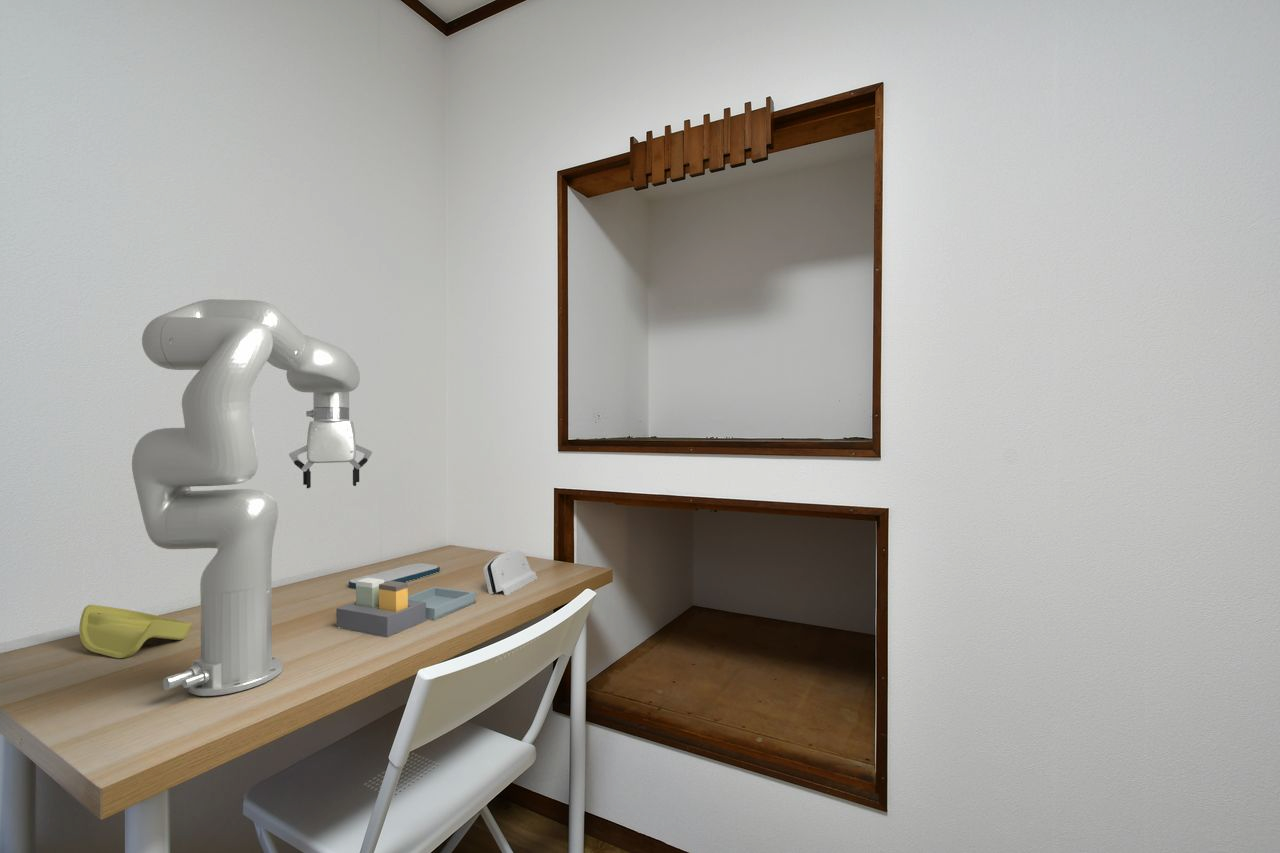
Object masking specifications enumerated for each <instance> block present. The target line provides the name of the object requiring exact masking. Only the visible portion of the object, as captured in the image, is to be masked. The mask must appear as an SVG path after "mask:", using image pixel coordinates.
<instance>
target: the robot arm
mask: <svg viewBox="0 0 1280 853" xmlns="http://www.w3.org/2000/svg"><path fill="white" fill-rule="evenodd" d="M141 345H142V346H141V347H142V349H143V351H144V354H145V355H146V357H147V359H149V360H150V361H151V363H153V364H155V365H157V366H159V367H161V368H163V369H167V370H174V371H197V372H196V374H195V375H194V376H193V377H192V378H191V380H190V381H189V382H188V384H187V385H186V387H185V389H184V390H183V393H182V398H181V408H182V414H183V416H182V417H183V422H184V427H165V428H159V429H154V430H152V431H149V432H148V433H146V434H144V435H142V437H141V438H140V439H139V440H138V441H137V443H136V445H135V447H134V450H133V454H132V456H131V457H132V459H131V470H132V476H133V483H134V486H135V490H136V494H137V499H138V503H139V507H140V512H141V515H142V521H143V524H144V528H145V531H146V534H147V535H148V538H149V539H150V541H151V542H152V543H153V544H154V545H155V546H157V547H159V548H161V549H164V550H190V549H191V550H193V549H194V550H195V549H196V550H197V549H217V551H216V553H215V555H214V556H213V558H212V559H211V560H210V561H209V562H208V564H207V565H206V566H205V568H204V570H203V571H202V573H201V577H200V584H199V585H200V587H199V588H200V590H199V591H200V595H199V597H200V657H199V658H197V659H193V660H192V663H193V664H192V666H190V667H188V668H187V669H186V671H183V672H180V673H179V672H178V673H176V674H172V675H169V676H166V677H164V678H163V679H162V680H163V681H162V686H163V689H164V690H165V691H169V690H172V689H174V688H177V687H180V686H182V687H183V688H184V689H188V692H189V693H190V694H192V695H195V696H198V697H199V696H201V697H212V696H213V697H214V696H223V695H229V694H233V693H238V692H242V691H245V690H246V691H247V690H248V689H252V688H255V687H257V686H260V685H263V684H265V683H267V682H269V681H271V680H272V679H274V678H276V677H277V676H278V675H279V674H281V673H282V671H283V669H284V664H283V663H284V662H283V660H282V659H281V658H278V657H274V656H273V647H272V646H273V642H272V641H273V640H272V639H273V638H272V637H273V630H272V629H273V628H272V622H273V621H272V618H273V617H272V616H273V615H272V613H273V612H272V605H273V604H272V562H273V561H272V556H273V545H274V540H275V539H274V538H275V534H276V528H277V524H278V518H279V508H278V503H277V501H276V500H275V498H274V497H273V496H271V495H270V494H268V493H267V492H264V491H262V490H257V489H249V488H248V489H247V488H246V489H245V488H237V489H236V488H235V489H213V490H210V489H209V490H191V487H215V486H216V487H217V486H219V487H220V486H230V485H231V486H232V485H239V484H242V483H245V482H247V481H249V480H252V479H253V477H254V476H255V475H256V474H257V470H258V466H259V461H258V460H259V457H258V449H257V443H256V435H255V429H254V425H253V424H254V423H253V417H252V411H251V410H252V409H251V401H250V400H251V399H250V398H251V392H252V390H253V387H254V384H255V382H256V379H257V377H258V376H259V374H260V372H261V370H262V369H263V367H264V366H265V365H266V363H268V364H269V365H271V366H272V367H274V368H277V369H280V370H284V371H286V373H285V375H286V379H287V383H288V384H289V385H290V387H291V388H292V389H293V390H295V391H297V392H301V393H310V394H311V393H312V394H313V395H312V396H313V398H312V399H313V403H312V404H313V405H312V406H313V409H311V410H306V414H305V416H306V417H310V418H312V419H313V420H311V421H309V424H308V429H307V436H306V437H307V439H306V440H307V441H306V445H304V446H302V447H300V448H298V449H295V450H293V451H290V452H289V453H288V456H289V458H290V459H291V461H292V462H293V463H294V465H295V466H296V467H297V468H299V469H300V470H301V471H302V484H303V486H306V489H311V487H312V486H311V484H312V483H311V482H312V481H311V480H312V479H311V478H312V476H311V475H312V474H311V473H312V472H311V471H310V468H311V467H312V466H313V465H314V464H327V463H328V464H332V463H349V464H351V465H352V466H353V469H352V486H353V487H356V486H357V483H360V469H361V468H363V466H365V465H366V464H367V463H368V461H369V459H370V458H371V455H372V454H373V452H372V450H369V449H367V448H365V447H363V446H361V445H358V444H356V435H355V434H356V432H355V427H354V422H353V421H352V420H351V421H350V392H353V391H355V390H356V389H357V388H358V386H359V384H360V380H361V375H360V374H361V373H360V370H359V366H358V365H357V364H356V362H355V361H354V359H353V358H352V357H351V356H350V355H349V354H348V352H346V351H345V350H344V349H342V348H341V347H339V346H336V345H334V344H331V343H330V342H329V343H328V342H325V341H323V340H320V339H318V338H316V337H313V336H309V335H307V334H304V333H303V332H302V331H301V330H300V329H299V328H298V327H296V325H295V324H293V322H292V321H291V320H290V319H289V318H288V317H287V316H286V315H285V314H284V313H283V312H282V311H280V309H278V308H277V307H276V306H275V305H273V304H271V303H268V302H266V301H262V300H253V299H252V300H251V299H222V298H221V299H215V298H214V299H212V298H211V299H209V298H208V299H203V300H198V301H195V302H191V303H189V304H186V305H184V306H181V307H179V308H176V309H174V310H172V311H168V312H167V313H163V314H162V315H159V316H157V317H155V318H153V319H152V320H150V322H148V323H147V325H146V327H145V328H144V330H143V332H142V336H141ZM357 451H358V452H359V453H363V454H364V455H363V457H362V458H361V460H359V461H357V460H356V456H357ZM304 453H306V459H307V462H306V463H305V464H304V463H303V462H302V461H301V460H300V459H299V456H300V455H302V454H304Z"/></svg>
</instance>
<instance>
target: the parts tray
mask: <svg viewBox="0 0 1280 853" xmlns="http://www.w3.org/2000/svg"><path fill="white" fill-rule="evenodd" d="M476 593H477V592H475V591H468V590H462V589H461V590H459V589H452V588H448V587H447V588H446V587H441V586H440V587H438V586H434V587H430V588H427V589H424V590H422V591H421V590H420V591H419V592H415V593H414V594H411V595H408V600H413V601H420V602H426V620H430V619H433V620H432V621H436V620H435V619H437V620H438V618H439V619H441V618H443V616H444V617H446V616H448V615H451V614H453V613H454V612H457V610H458V611H460V610H462V609H465V608H467V607H470V606H471V605H474V604H475V603H477V598H476V597H477V594H476ZM464 607H465V608H464ZM450 613H451V614H450ZM445 615H446V616H445ZM440 617H441V618H440Z"/></svg>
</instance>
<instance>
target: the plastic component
mask: <svg viewBox="0 0 1280 853" xmlns="http://www.w3.org/2000/svg"><path fill="white" fill-rule="evenodd" d="M192 627H193V623H191V622H186V621H182V620H177V619H173V618H168V617H165V616H160V615H155V614H151V613H145V612H141V611H135V610H130V609H125V608H124V609H123V608H118V607H112V606H111V607H110V606H104V605H99V604H97V605H96V604H88V605H87V606H85V607H84V608H83V611H82V613H81V617H80V620H79V629H78V630H79V632H78V633H79V638H80V641H81V643H82V645H83V646H84V647H85V648H86V649H87V650H88V651H90V652H92V653H97V654H101V655H104V656H107V657H112V658H116V659H126V658H130V657H132V656H133V655H134V654H136V653H137V652H138V651H139V650H140V649H141V648H142V646H143V645H144V644H145V642H146V641H147V640H150V639H156V638H157V639H165V640H166V639H167V640H175V641H177V640H178V641H183V640H185V639H186V638H187V636H188V635H189V632H190V630H191V628H192Z"/></svg>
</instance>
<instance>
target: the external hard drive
mask: <svg viewBox="0 0 1280 853" xmlns="http://www.w3.org/2000/svg"><path fill="white" fill-rule="evenodd" d="M440 570H441V568H440V566H439V565H437V564H433V563H432V564H431V563H426V562H425V563H424V562H422V563H421V562H420V563H417V562H416V563H412V564H407V565H404V566H399V567H395V568H391V569H387V570H383V571H380V572H379V571H378V572H374V573H371V574H370V573H369V574H367V575H362V576H358V577H355V578H352V579H349V581H348V588H350V589H353V588H354V589H353V590H356V581H358V580H361V579H365V578H375V579H382V580H384V583H385V582H388V581H396V582H405V583H407V582H406V581H408V582H410V581H409V580H412V581H414V580H413V579H416V580H418V579H417V578H419V579H421V578H420V577H423V576H426V575H430V574H433V573H436V572H438V573H440V572H441V571H440ZM436 574H437V573H436ZM433 575H434V574H433ZM430 576H431V575H430ZM426 577H427V576H426ZM423 578H424V577H423Z"/></svg>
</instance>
